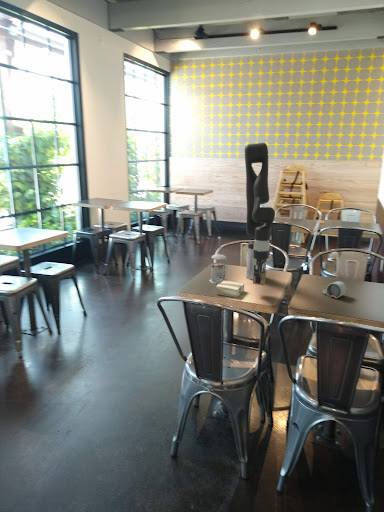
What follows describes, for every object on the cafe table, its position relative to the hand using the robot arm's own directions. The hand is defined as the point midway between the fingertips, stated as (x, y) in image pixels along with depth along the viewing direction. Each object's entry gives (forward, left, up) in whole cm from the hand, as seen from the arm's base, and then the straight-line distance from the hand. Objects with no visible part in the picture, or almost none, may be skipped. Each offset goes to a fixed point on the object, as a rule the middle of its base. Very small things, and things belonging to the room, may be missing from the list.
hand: (259, 281), depth 189 cm
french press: (-9, -25, -7) cm, 28 cm away
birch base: (+5, -13, -7) cm, 16 cm away
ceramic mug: (-17, +33, -7) cm, 38 cm away
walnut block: (0, 0, -1) cm, 1 cm away
